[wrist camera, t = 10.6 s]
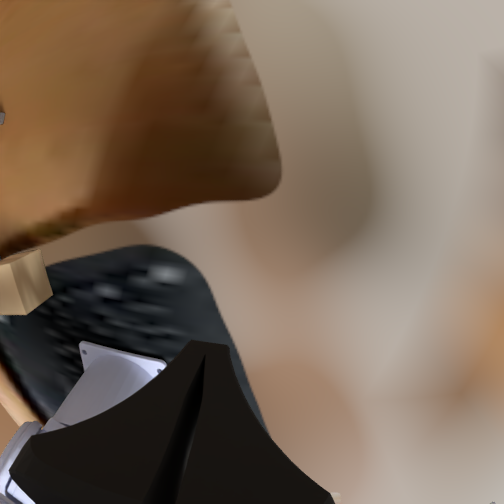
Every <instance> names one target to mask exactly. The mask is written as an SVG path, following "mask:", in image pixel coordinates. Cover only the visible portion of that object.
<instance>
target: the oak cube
mask: <svg viewBox="0 0 504 504" xmlns="http://www.w3.org/2000/svg"><path fill="white" fill-rule="evenodd" d="M52 295H53V293H52V290H51V287H50V283H49V280H48V277H47V273H46V270H45V264H44V260H43V256H42V253H41V249H37V250H32V251H27V252H23V253H18V254H14V255H11V256H9V257H7V258H5V259H3V260H1V261H0V315H27V314H28V313H30V312H31V311H32V310H34V309H35V308H36V307H37V306H39V305H40V304H41V303H43V302H44V301H45V300H47V299H48V298H49V297H51V296H52Z"/></svg>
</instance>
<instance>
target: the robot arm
mask: <svg viewBox="0 0 504 504" xmlns="http://www.w3.org/2000/svg"><path fill="white" fill-rule="evenodd" d="M79 348H80V353H81V358H82V362H83V367H84V371H85V372H84V373H83V375H82V376H81V377H80V379H79V380H78V382H77V383H76V385H75V386H74V387H73V389H72V390H71V392H70V393H69V395H68V396H67V397H66V399H65V400H64V402H63V403H62V405H61V406H60V408H59V409H58V411H57V412H56V414H55V415H54V417H53V418H50V419H49V421H48V422H47V424H46V425H45V427H44V428H43V430H41V428H42V425H41V424H40V423H39V422H37V421H33V422H25V423H24V424H23V425H22V426H21V427H20V428H19V429H18V431H17V432H16V433H15V434H14V436H13V437H12V439H11V440H10V442H9V443H8V445H7V447H6V448H5V450H4V451H3V453H2V455H1V457H0V504H335V502H334V500H333V498H332V496H331V494H330V493H329V492H328V491H326V490H325V489H323V488H322V487H321V486H319V485H318V484H317V483H316V482H314V481H313V480H312V479H311V478H309V477H308V476H307V475H306V474H305V473H304V472H302V471H301V470H300V469H299V468H298V467H297V466H296V465H295V464H294V463H293V462H292V461H291V460H290V459H289V458H288V457H287V456H286V455H285V454H284V453H283V452H282V450H281V449H280V448H279V447H278V446H277V445H276V443H275V442H274V441H273V440H272V439H271V438H270V436H269V435H268V433H267V432H266V431H265V429H264V428H263V427H262V425H261V424H260V422H259V421H258V419H257V418H256V416H255V414H254V413H253V411H252V409H251V407H250V406H249V404H248V402H247V400H246V398H245V396H244V394H243V392H242V389H241V387H240V385H239V382H238V380H237V377H236V375H235V372H234V369H233V365H232V361H231V357H230V348H229V347H228V346H227V345H224V344H216V343H209V342H203V341H196V340H191V341H189V342H188V343H187V344H186V346H185V347H184V348H183V349H182V350H181V352H180V353H179V354H178V355H177V356H176V357H175V358H174V359H173V360H172V361H171V362H170V363H169V364H168V365H166V363H165V361H163V360H161V359H156V358H151V357H146V356H142V355H137V354H133V353H129V352H124V351H120V350H116V349H112V348H108V347H105V346H101V345H97V344H94V343H90V342H86V341H81V342H80V344H79ZM84 350H85V351H86V352H85V351H84ZM159 369H161V370H162V371H160V370H159ZM490 504H495V502H492V503H490Z"/></svg>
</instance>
